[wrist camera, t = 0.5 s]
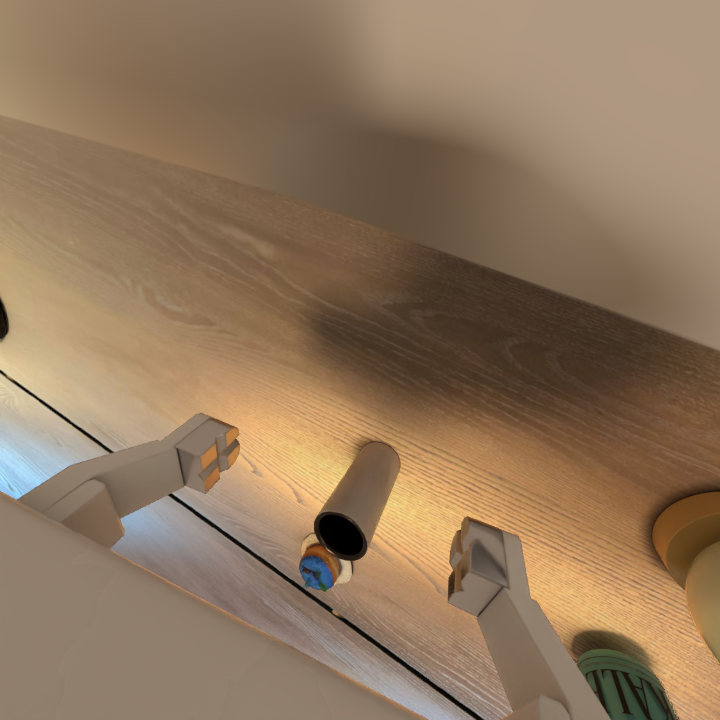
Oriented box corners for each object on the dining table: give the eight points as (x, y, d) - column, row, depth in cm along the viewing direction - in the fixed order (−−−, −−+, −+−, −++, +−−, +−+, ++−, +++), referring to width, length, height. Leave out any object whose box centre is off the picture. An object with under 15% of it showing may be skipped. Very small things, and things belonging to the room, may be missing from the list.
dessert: (307, 524, 37) (309, 579, 32) (355, 525, 40) (364, 576, 35) (291, 555, 41) (291, 608, 36) (336, 555, 43) (341, 604, 38)
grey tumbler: (391, 486, 32) (356, 572, 23) (355, 465, 33) (307, 539, 24) (407, 454, 30) (375, 534, 21) (367, 433, 31) (321, 501, 22)
